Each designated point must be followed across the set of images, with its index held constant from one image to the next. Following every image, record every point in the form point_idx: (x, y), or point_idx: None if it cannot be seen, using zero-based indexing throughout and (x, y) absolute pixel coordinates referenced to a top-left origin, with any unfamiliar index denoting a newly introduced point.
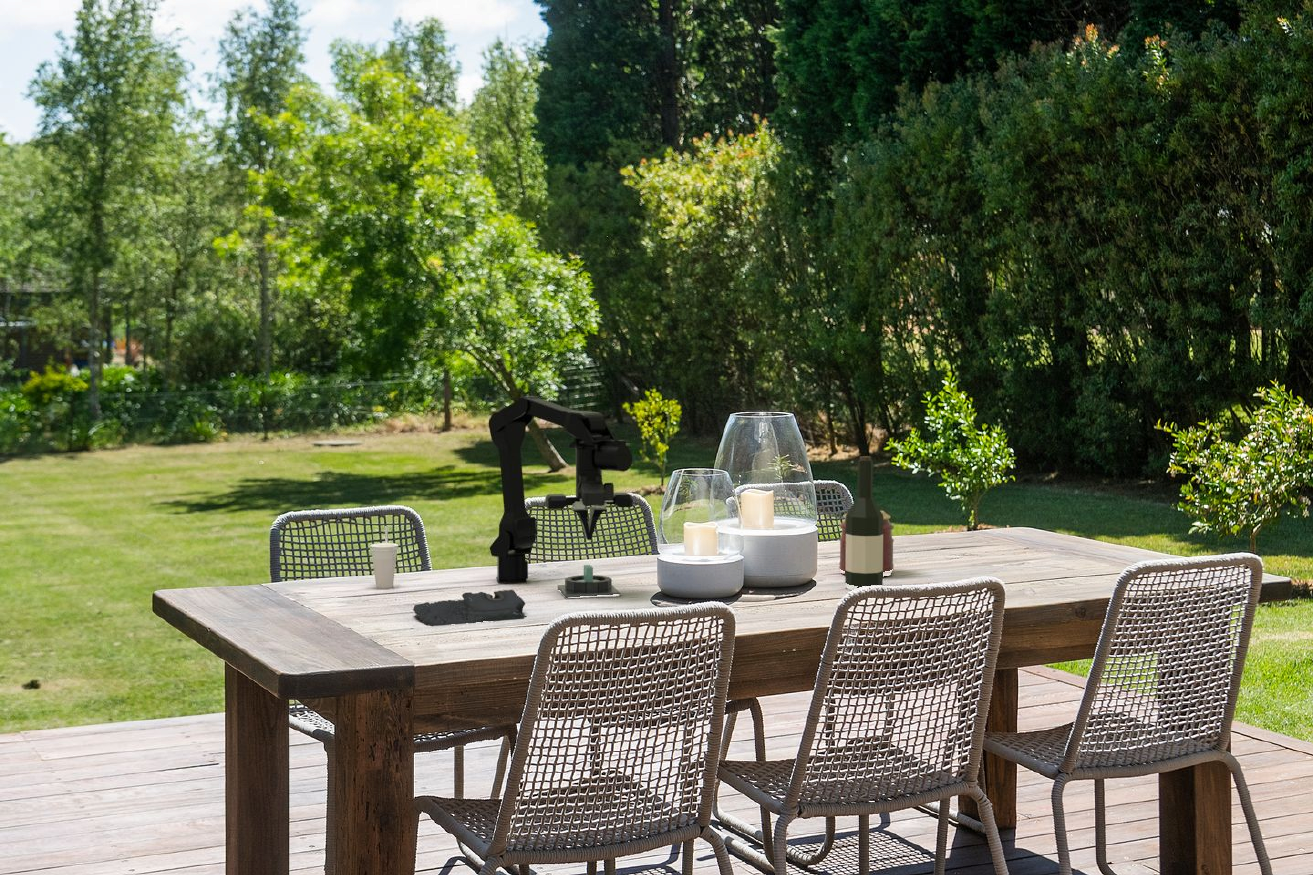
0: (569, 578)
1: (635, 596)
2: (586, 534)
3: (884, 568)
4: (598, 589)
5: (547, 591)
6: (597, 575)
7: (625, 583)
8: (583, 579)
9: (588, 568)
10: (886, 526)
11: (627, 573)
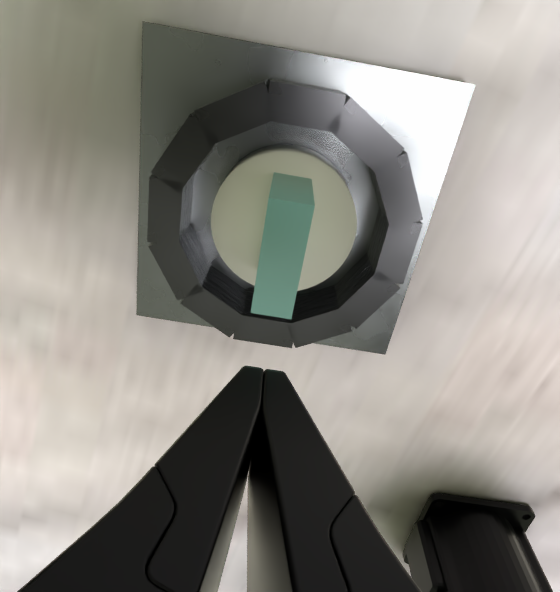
0: (378, 281)
1: (57, 7)
2: (301, 403)
3: None
4: (267, 80)
5: (442, 319)
6: (199, 315)
7: (56, 370)
8: None
9: (301, 202)
10: None
11: (21, 527)
